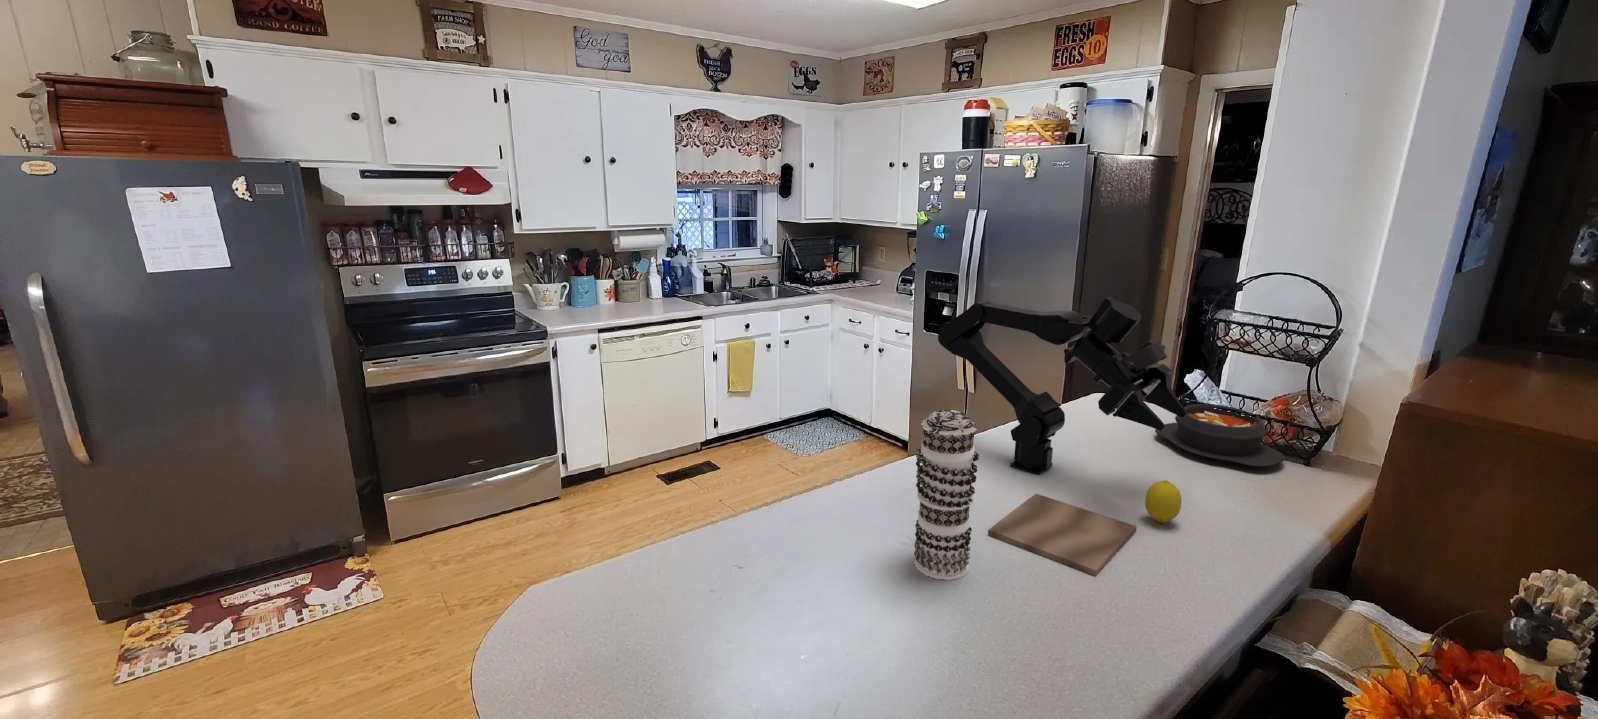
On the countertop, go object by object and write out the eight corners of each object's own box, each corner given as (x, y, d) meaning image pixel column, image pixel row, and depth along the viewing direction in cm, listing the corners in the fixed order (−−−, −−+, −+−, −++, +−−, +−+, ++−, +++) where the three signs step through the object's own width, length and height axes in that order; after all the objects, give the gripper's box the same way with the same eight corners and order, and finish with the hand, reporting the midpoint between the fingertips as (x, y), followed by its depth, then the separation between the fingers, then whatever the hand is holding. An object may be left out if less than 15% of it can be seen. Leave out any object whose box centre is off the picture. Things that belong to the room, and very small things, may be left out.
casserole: (1300, 461, 144) (1308, 424, 141) (1253, 483, 134) (1261, 443, 132) (1183, 425, 164) (1188, 391, 162) (1136, 441, 155) (1140, 406, 153)
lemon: (1169, 515, 122) (1176, 474, 120) (1183, 531, 117) (1190, 488, 115) (1137, 513, 123) (1143, 473, 121) (1149, 529, 118) (1155, 487, 116)
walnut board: (987, 534, 117) (988, 529, 116) (1035, 498, 129) (1035, 493, 129) (1095, 576, 105) (1096, 570, 104) (1136, 531, 117) (1136, 525, 117)
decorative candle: (933, 542, 114) (940, 400, 108) (982, 564, 108) (993, 414, 101) (899, 564, 108) (904, 415, 101) (949, 588, 102) (958, 431, 95)
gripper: (1107, 337, 116) (1184, 402, 109) (1154, 320, 128) (1226, 378, 120) (1069, 383, 123) (1140, 447, 115) (1117, 363, 135) (1183, 420, 127)
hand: (1174, 421), depth 119 cm, fingers open, 9 cm apart
